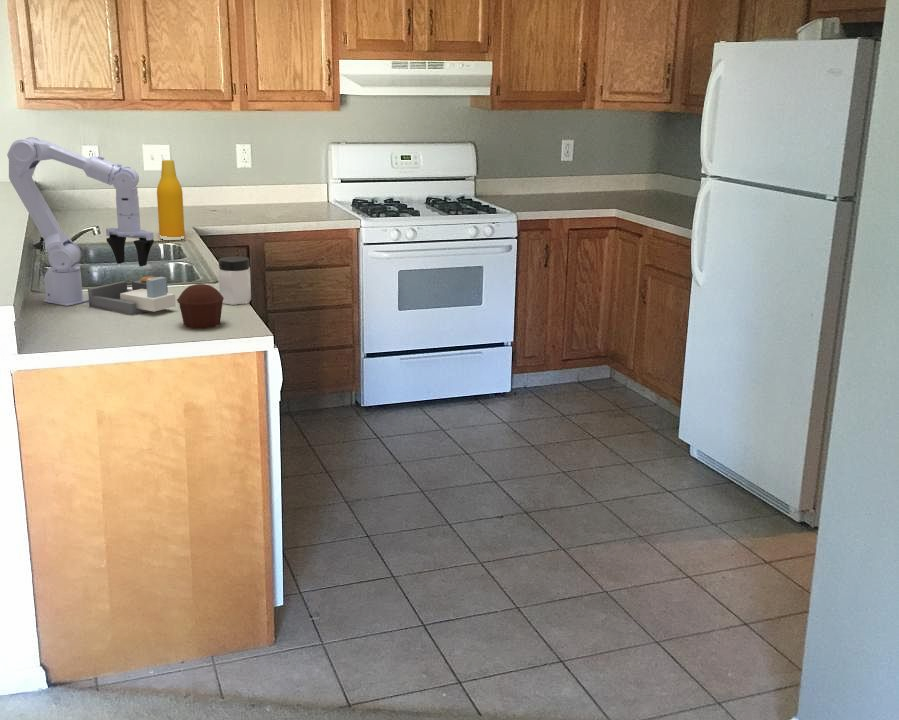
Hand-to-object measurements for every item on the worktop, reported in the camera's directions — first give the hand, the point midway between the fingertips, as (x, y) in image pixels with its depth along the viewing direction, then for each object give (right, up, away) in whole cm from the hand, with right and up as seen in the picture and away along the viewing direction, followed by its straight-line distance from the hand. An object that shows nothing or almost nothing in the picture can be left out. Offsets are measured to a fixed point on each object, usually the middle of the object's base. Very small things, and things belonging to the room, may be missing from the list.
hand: (131, 264), depth 263 cm
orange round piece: (+3, -7, +6) cm, 10 cm away
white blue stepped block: (+6, -12, -7) cm, 15 cm away
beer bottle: (-18, +19, +102) cm, 105 cm away
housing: (+2, -11, 0) cm, 11 cm away
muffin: (+24, -17, -19) cm, 35 cm away
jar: (+27, -10, +6) cm, 29 cm away
